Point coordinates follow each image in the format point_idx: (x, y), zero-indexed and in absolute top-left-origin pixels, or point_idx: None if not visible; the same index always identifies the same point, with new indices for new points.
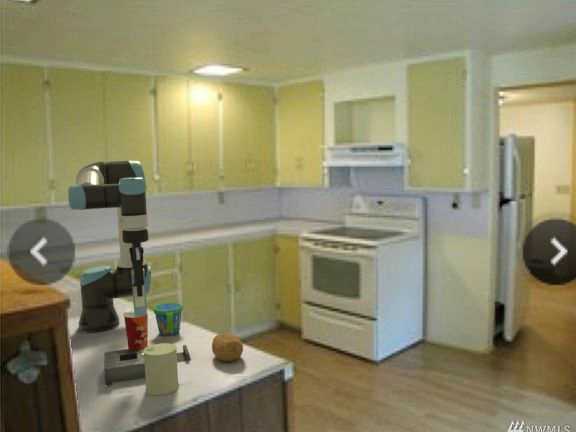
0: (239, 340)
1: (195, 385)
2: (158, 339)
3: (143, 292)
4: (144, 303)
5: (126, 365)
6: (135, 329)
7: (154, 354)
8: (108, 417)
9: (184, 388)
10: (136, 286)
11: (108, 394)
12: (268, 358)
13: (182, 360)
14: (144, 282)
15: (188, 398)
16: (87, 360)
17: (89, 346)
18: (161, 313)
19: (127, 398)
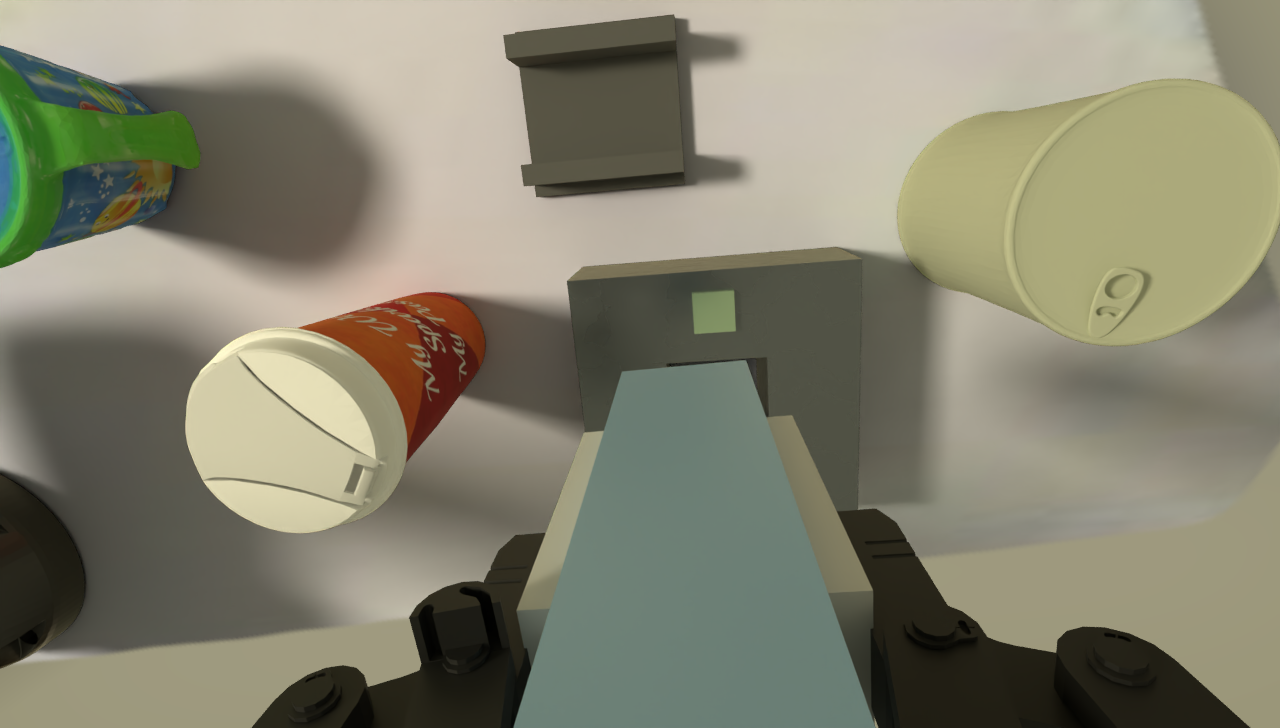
0: None
1: (1043, 9)
2: (236, 227)
3: (834, 517)
4: (798, 433)
5: (852, 413)
6: (435, 399)
7: (1238, 264)
8: (1185, 444)
9: (1052, 80)
10: (871, 702)
11: (939, 458)
12: None
13: (661, 77)
14: (823, 603)
15: (1196, 61)
16: (486, 571)
17: (294, 577)
18: (50, 207)
19: (1027, 374)
